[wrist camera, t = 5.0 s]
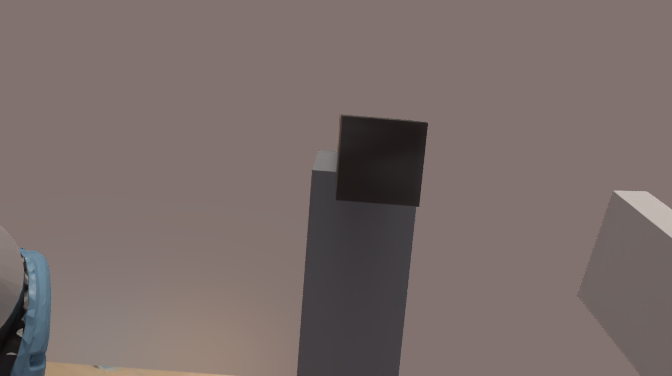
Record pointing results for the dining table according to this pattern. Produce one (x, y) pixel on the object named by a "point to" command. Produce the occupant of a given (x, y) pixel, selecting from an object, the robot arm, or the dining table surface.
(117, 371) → the dining table surface
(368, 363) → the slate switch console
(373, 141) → the wooden bar
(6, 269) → the robot arm
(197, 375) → the dining table surface
